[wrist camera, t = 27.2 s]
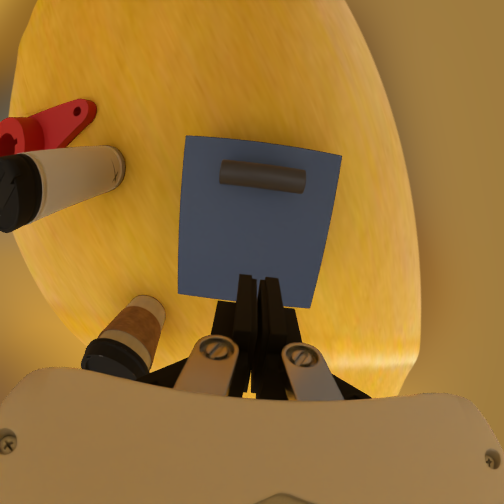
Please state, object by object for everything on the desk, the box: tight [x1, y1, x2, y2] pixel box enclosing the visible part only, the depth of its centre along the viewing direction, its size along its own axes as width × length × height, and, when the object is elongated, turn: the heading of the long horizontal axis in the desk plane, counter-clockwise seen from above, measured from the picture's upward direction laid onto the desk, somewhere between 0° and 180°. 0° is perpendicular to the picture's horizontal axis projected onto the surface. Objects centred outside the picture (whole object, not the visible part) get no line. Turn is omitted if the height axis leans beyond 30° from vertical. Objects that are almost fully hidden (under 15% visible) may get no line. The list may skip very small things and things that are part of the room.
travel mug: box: [0, 145, 125, 233], centre depth 23 cm, size 6×7×20 cm
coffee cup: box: [81, 295, 165, 381], centre depth 33 cm, size 8×8×15 cm
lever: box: [0, 99, 97, 157], centre depth 27 cm, size 18×9×7 cm, turn 105°
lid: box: [178, 136, 342, 308], centre depth 23 cm, size 15×14×6 cm
